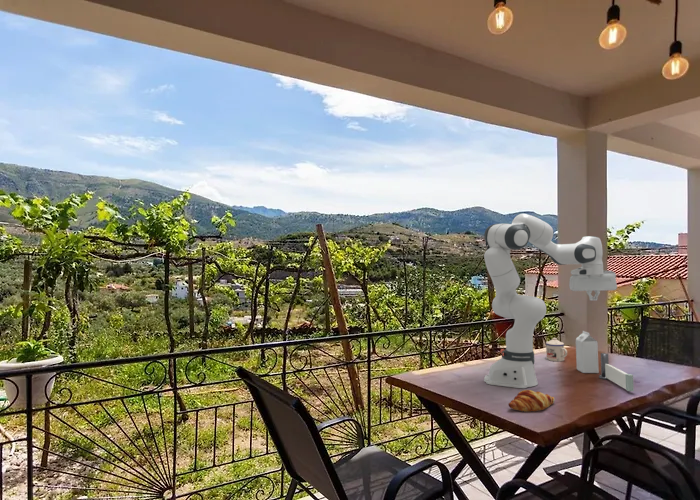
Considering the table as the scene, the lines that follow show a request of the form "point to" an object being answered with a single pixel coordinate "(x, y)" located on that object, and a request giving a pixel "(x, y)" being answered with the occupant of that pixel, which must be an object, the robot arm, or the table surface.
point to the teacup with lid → (555, 350)
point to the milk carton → (587, 353)
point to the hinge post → (603, 365)
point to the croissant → (531, 401)
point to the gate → (619, 377)
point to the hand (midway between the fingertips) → (593, 300)
